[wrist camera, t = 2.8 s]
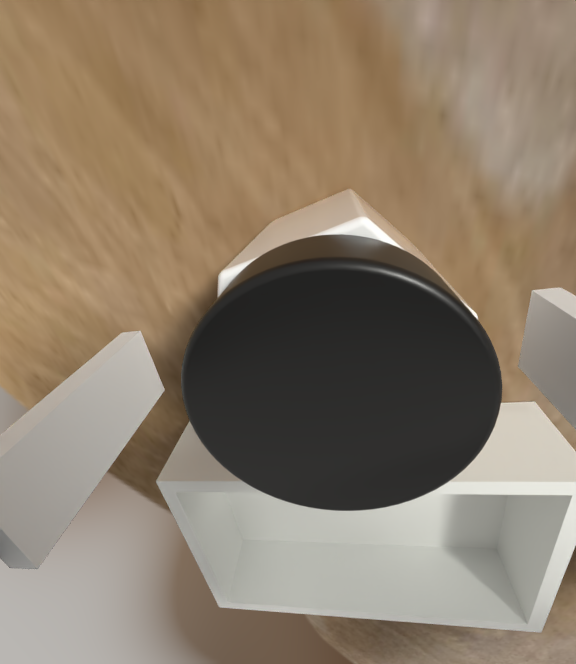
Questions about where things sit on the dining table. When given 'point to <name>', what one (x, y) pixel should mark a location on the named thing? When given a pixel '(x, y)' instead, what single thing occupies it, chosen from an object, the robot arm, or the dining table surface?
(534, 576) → the bin
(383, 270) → the jar
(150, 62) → the dining table surface
